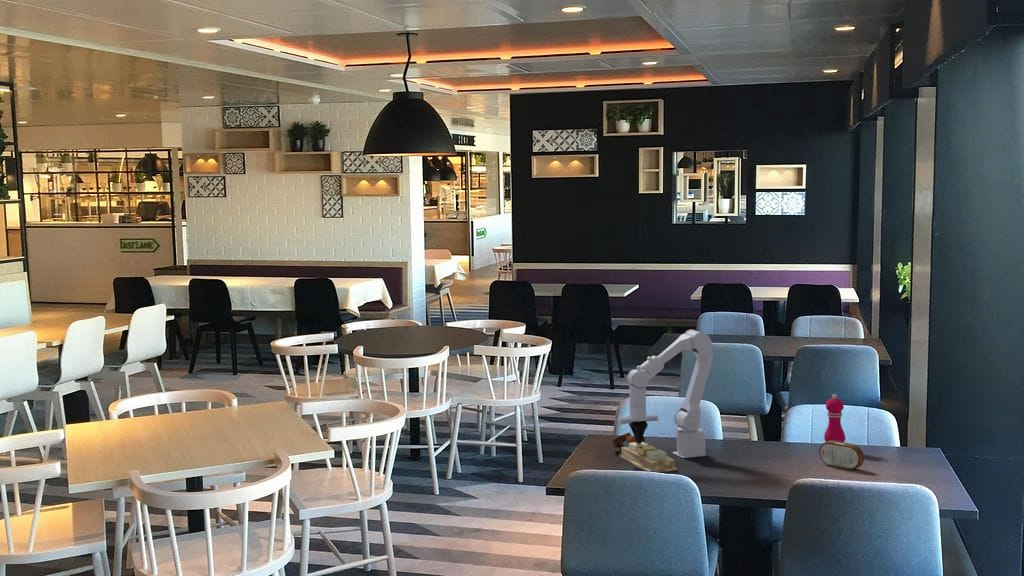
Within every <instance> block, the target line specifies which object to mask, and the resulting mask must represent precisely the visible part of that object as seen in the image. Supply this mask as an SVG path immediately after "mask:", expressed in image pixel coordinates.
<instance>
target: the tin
mask: <svg viewBox="0 0 1024 576" xmlns="http://www.w3.org/2000/svg"><path fill="white" fill-rule="evenodd" d="M818 451H819V457H820V460H821V461H822V462H823V463H824V464H825V465H827V466H829V467H834V468H838V469H839V468H840V469H845V470H848V471H849V470H850V471H852V470H855V469H856V470H857V469H859V468H861V467H862V466H863V464H864V461H865V455H864V452H863V450H862V449H861V448H860V447H859V446H858V445H856V444H855V443H851V442H849V443H848V442H845V441H844V442H839V441H833V440H829V441H827V442H826V441H825V442H823V443H822V444H821V445H820V446H819V449H818Z"/></svg>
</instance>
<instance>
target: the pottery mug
mask: <svg viewBox="0 0 1024 576" xmlns="http://www.w3.org/2000/svg"><path fill="white" fill-rule="evenodd" d="M611 442H612V448H618V449H619V450H620V451H621V447H625V446H624V443H625V442H627V443H628V444H629V443H634V442H635V438H634V435H632V433H631V432H626V433H624V434H622V435H619V436H617V437H616V438H613V439H612V441H611ZM642 442H643V443H646V439H645V437H644V435H643V438H642Z"/></svg>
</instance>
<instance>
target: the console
mask: <svg viewBox="0 0 1024 576" xmlns="http://www.w3.org/2000/svg"><path fill="white" fill-rule="evenodd" d="M620 451H621V452H620V453H621V455H620V454H619V456H618V457H619V458H620V459H623V460H624V461H625V462H628V463H630V464H632V465H633V466H635V467H637V468H638V469H641V470H643V471H645V470H646V471H645V472H647V471H657V472H656V473H664V472H673V471H678V468H677V467H676V460H675V459H673V458H672V457H669V456H667V459H666V460H657V461H652V460H650V459H648V458H647V456H642V455H640V454H638V452H634V451H632V450H630V449H629V446H628V447H627V446H624V447H621V450H620Z"/></svg>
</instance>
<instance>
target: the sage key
mask: <svg viewBox="0 0 1024 576" xmlns="http://www.w3.org/2000/svg"><path fill="white" fill-rule="evenodd" d="M667 457H668V454H667V452H666V451H663V450H661V449H657V450H653V451H647V458H648V459H650V460H652V461H657V460H666V459H667Z"/></svg>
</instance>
